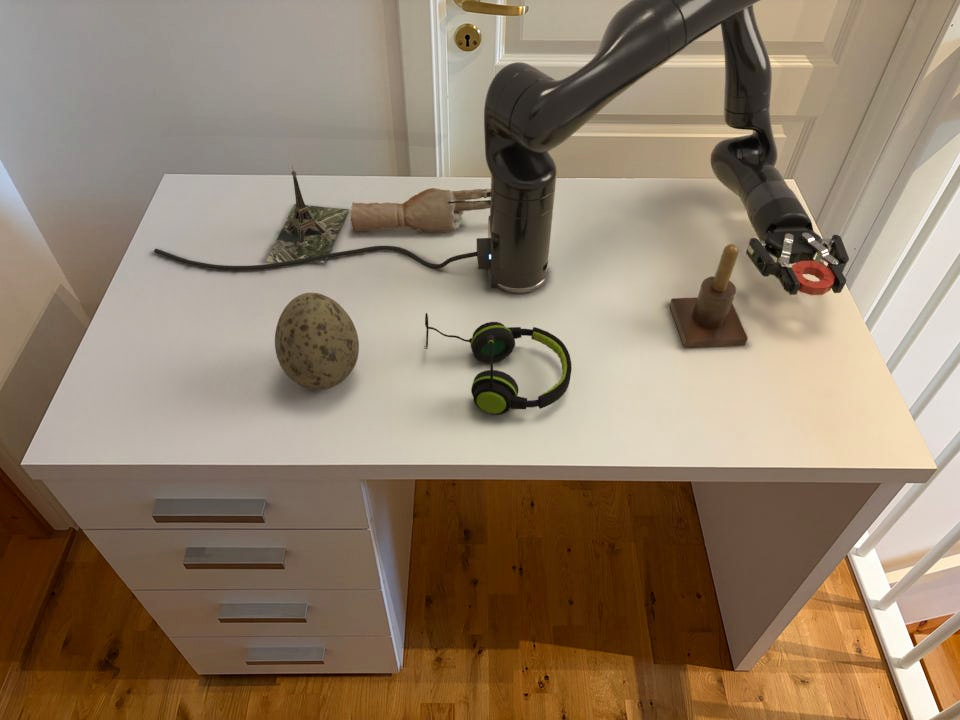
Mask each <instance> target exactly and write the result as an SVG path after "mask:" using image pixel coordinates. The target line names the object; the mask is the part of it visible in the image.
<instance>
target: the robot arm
mask: <svg viewBox="0 0 960 720" xmlns="http://www.w3.org/2000/svg"><path fill="white" fill-rule="evenodd" d="M760 1H761V0H631V1H629V2H627V3H626V4H625V5H624V6H622V7H621V8H620V9H619V10H617V11H616V12H615V14H614V15H613V16H612V18H611V19H610V21H609V22H608V23H607V27H606V28H605V31H604V33H603V35H602V38H601V41H600V44H599V46H598V49H597V51H596V53H595V55H594V56H593V58H591V60H589V61H588V63H586V64H585V65H583V66H582V67H581V68H579V69H578V70H576V71H575V72H573V73H572V74H570V75H568V76H567V77H565V78H561V79H560V80H557V79H555V78H553V77H552V76H550V75H548V74H547V73H544V71H541V70H540V69H538V68H536V67H535V66H533V65H531V64H529V63H527V62H522V61H521V62H520V61H519V62H517V61H515V62H512V63H509V64H507V65H505V66H504V67H502V68H501V69H500V70H499V71H498V72H496V74H495V75H494V77H493V78H492V80H491V82H490V83H489V86H488V89H487V90H486V91H487V92H486V96H485V101H484V108H483V129H484V153H485V162H486V165H487V167H488V171H489V174H490V189H491V197H490V200H491V201H490V208H489V212H490V213H489V215H488V223H487V225H488V227H487V237H478V238H476V247H475V248H476V249H475V250H476V251H473V252H466V253H463V254H457V255H454V256H451V257H449V258H446V259H445V260H444V261H443V262H442V263H431V262H428V261H427V260H424V259H422V258H421V257H419V256H418V255H417V254H415V253H413V252H411V251H410V250H408V249H405V248H403V247H400V246H394V245H373V246H366V247H362V248H356V249H349V250H343V251H338V252H330V253H329V254H325V255H320V256H316V257H310V258H305V259H299V260H293V261H286V262H271V263H266V264H265V263H264V264H256V265H222V264H215V263H214V264H212V263H205V262H200V261H195V260H190V259H187V258H184V257H180V256H178V255H175V254H172V253H170V252H167V251H164V250H162V249H158V248H155V249H154V251H153V252H154V253H155V254H157V255H160V256H163V257H166V258H168V259H171V260H173V261H176V262H180V263H182V264H186V265H190V266H193V267H200V268H203V269H204V268H205V269H212V270H222V271H259V270H268V269H274V268H283V267H289V266H295V265H301V264H307V263H311V262H310V261H314V260H318V259H322V258H326V257H328V258H327V260H328V259H333V258H339V257H345V256H351V255H356V254H362V253H368V252H375V251H392V252H393V251H394V252H398V253H402V254H404V255H406V256H408V257H410V258H412V259H413V260H414V261H416V262H418V263H419V264H421V265H423V266H425V267H427V268H429V269H436V270H439V269H443V268H445V267H446V266H448V265H449V264H450V263H452V262H456V261H460V260H464V259H470V258H476V262H477V270H487V275H488V280H489V287H490V289H499V290H501V291H504V292H506V293H510V294H527V293H532V292H534V291H536V290H539V289H540V288H541V287H542V286H543V285H545V283H546V282H547V279H548V271H549V270H548V268H549V263H550V259H551V258H550V257H551V256H550V246H551V245H550V244H551V237H552V225H553V214H554V204H555V195H556V194H555V193H556V184H557V175H558V173H557V172H558V171H557V165H556V163H555V160H554V158H553V157H552V155H551V154H550V153H549V152H550V151H552V150H555V149H556V148H557V147H559V146H560V145H562V144H563V143H564V142H566V141H567V140H568V139H570V137H572V136H574V134H575V133H576V132H577V131H579V130H580V129H581V128H582V127H583V126H585V124H587V123H588V122H589V121H590V120H591V119H592V118H594V117H595V116H596V115H597V114H598V113H600V112H601V111H602V110H603V109H604V108H605V107H606V106H608V105H609V104H610V103H612V102H613V101H614V100H615V99H617V97H619V96H620V95H621V94H623V93H624V92H625V91H627V90H629V89H630V88H631V87H633V85H635V84H636V83H637V82H639V81H641V79H643V78H645V77H646V76H647V75H649V74H651V73H652V72H654V71H655V70H657V69H658V68H660V67H661V66H663V65H664V64H666V63H667V62H669V61H671V60H672V59H673V58H674V57H676V56H677V55H679V54H680V53H682V52H683V51H684V50H686V49H687V48H688V47H689V46H690V45H692V44H694V42H696V41H698V40H699V39H701V38H702V37H703V36H705V35H707V34H709V33H710V32H712V31H713V30H714V29H716V28H717V27H718V26H720V29H721V30H720V31H721V37H722V38H721V39H722V43H723V44H722V45H723V56H724V99H723V120H724V123H725V124H726V125H727V127H729V128H731V129H735V130H745V131H752V133H751V134H747V135H742V136H736V137H731V138H726V139H723V140H721V141H719V142H717V143H716V144H715V145H714V147H713V149H712V150H711V152H710V167H711V170H712V173H713V174H714V176H715V177H716V178H717V180H718V181H719V182H720V183H721V184H722V185H723V186H724V187H726V188H727V189H728V190H729V191H731V192H732V193H733V194H734V195H736V196H737V197H738V198H739V199H740V202H741V203H742V205H743V207H744V209H745V211H746V215H747V218H748V221H749V223H750V224H751V227H752V229H753V231H754V232H755V234H756V236H757V238H756V237H751V238H750V240H749V242H748V245H747V248H746V251H745V254H746V255H747V257H748V258H749V260H750V262H752V263H753V265H754V267H755V268H756V269H757V270H758V271H759V273H760V274H761V275H762V276H763V277H765V278H767V277H770V275H771V276H774V277H775V278H776V279H777V280H779V283H780V285H781V287H782V288H783V290H784V291H785V292H786V293H788V294H789V295H790V296H796V295H797V294H798V292H799V291H798V289H799V287H800V283H799V281H798V279H797V277H796V275H795V273H794V271H793V270H792V266H789V265H794V264H796V263H798V262H799V261H814V262H818V263H821V264H823V265H825V266H826V267H828V268H829V269H830V270H831V271H832V273H833V275H834V276H835V279H834V283H833V285H832V287H831V289H830V290H832V292H833V294H840V293H842V291H843V289H844V287H845V285H846V283H847V278H846V277H845V275H844V270H845V268H846V266H847V264H848V262H849V261H850V258H849V255H848V252H847V249H846V246H845V243H844V242H843V239H842V237H841V236H840V235H838V234H833V235H832V237H831V238H822V237H821V236H820V235H819V234H818V233H816V232H815V230H814V227H813V223H812V220H811V218H810V216H809V215H808V213H807V212H806V210H805V208H804V206H803V205H802V203H801V202H800V200H799V199H798V197H797V195H796V194H795V192H794V191H793V190H792V189H791V188H790V186H789V185H788V183H787V182H786V181H785V179H784V177H783V176H782V174H781V172H780V170H778V169H777V168H776V164H777V161H778V156H779V155H778V150H777V149H778V148H777V143H776V141H775V137H774V133H773V127H772V121H771V111H770V109H771V97H772V96H771V95H772V82H773V73H772V65H771V60H770V57H769V53H768V51H767V47H766V45H765V43H764V40H763V38H762V35H761V33H760V29H759V27H758V23H757V19H756V14H755V10H754V5H755V4H756V3H759V2H760ZM773 257H774V258H776V261H775V260H774V258H773ZM824 262H825V263H827V265H826V264H825V263H824Z"/></svg>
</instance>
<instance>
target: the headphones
mask: <svg viewBox="0 0 960 720" xmlns="http://www.w3.org/2000/svg"><path fill="white" fill-rule="evenodd" d="M424 316H425V317H424V325H425V328H426V331H425V332H426V335H425V345H424V347H423V349H425V350H426V349H427V350H428V348H429V330H434V331H436V332H437V333H439V334H440V335H441V336H444V337H446V338H456V339H459V340H461V341H463V342H467V343H469V344H470V349H471V353H472V354H473V357H474V358H475V360H477V361H478V362H481V363H484V364H490V366H489V367H490V369H486V370H483V371H480V372H479V373H477V374H476V375H475V376H474V379H473V380H472V385H471V389H470V393H471V396H472V398H473V402H474V405H475V406H476V407H477V408H478V410H480V411H482V412H483V413H486V414H489V415H495V416H498V415H504V414H506V413H507V412H509V410H527V408H528V409H529V408H537V407H538V408H539V410H541V409H544V408H546V407H548V406H550V405H552V404H554V403H556V402H557V401H558V400H560V399H561V398H562V397H563V396H564V394H565V393H566V392H567V390H568V388H569V385H570V383H571V376H572V360H571V355H570V353H569V350H568V348H567V347H566V345H565V344H564V343H563V341H562V339H561V340H560V338H559V337H557V336H556V335H555V334H553V333H551V332H549V331H547V330H544V329H541V328H539V327H535V326H533V327H532V329H531V328H522V327H521V326H513V327H511V326H510V327H508V326H505V325H504V324H503V323H502V322H499V321H488V322H485V323H483V324H481V325H479V326H478V327H477V328H476V329H475V330H474V331H473V332H472V333H473V334H472V336H471V338H469V339H466V338H464V337H463V338H462V337H461V336H459V335H452V334H445V333H443V332H442V331H440V330H438V329H437V328H435V327H434V326H433V327H432V326H429V315H428V312H425V315H424ZM522 336H526V337H531V340H533V341H535V342H539V343H541V344H542V345H545V346H546V347H547V348H549V349H550V350H552V352H554V353H555V354H556V355H557V357H558V358H559V361H560V364H561V370H562V373H561V378H560V379H559V380H558V382H557V383H555V384H554V385H553V386H552V387H551V388H549V389H547V391H546V392H544V393H542V394H540V395H538V397H537V399H532V400H531V399H530V400H528V399H529V398H527V397H523V396H519V385H518V383H517V382H516V380H515V379H514V377H512V376H511V375H510V374H508V373H506V372H504V371H500V370H498V369H497V370H496V369H494V363H498V362H500V361H503V360H505V359H506V358H508V357H510V355H511V353H512V352H514V349H515V347H516V339H520V338H522Z"/></svg>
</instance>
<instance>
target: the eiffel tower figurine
mask: <svg viewBox="0 0 960 720" xmlns="http://www.w3.org/2000/svg"><path fill="white" fill-rule="evenodd" d="M293 166H294V165H291V168H292V171H291V176H292V180H293V189H294V195H295V203H294V204H293V206H292V209H291V210H290V213H289V214H288V217H287V218H286V220H285V222H284V224H283V226H282V228H281V230H280V232H279V234H278V235H277V238H276V239H275V242H274V244H273V246H272V248H271V250H270V251H269V252H270V253H269V254H268V256H267V258H266V260H265V262H266V263H279V262H286V261H293V260H299V259H305V258H310V257H316V256H320V255H325V254H331V252H332V249H333V247H334V245H335V242H336V239H337V237H338V234H339V232H340V231H341V228H342V225H343V223H344V222H345V219H346V217H347V215H348V213H349V211H350V209H349V208H348V209H347V208H339V207H329V206H328V207H327V206H317V205H310V204H309V205H308V204H306V203H305V201H304V198H303V195H302V192H301V189H300V188H301V187H300V185H299V182H298V178H297V175H298V174H297V172H296V171H295V170H294V167H293ZM327 258H328V257H326V258H322V259H318V260H314V261H310V262H309V263H320V264H321V263H322V264H326V263H327V260H328V259H329V258H328V259H327Z"/></svg>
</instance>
